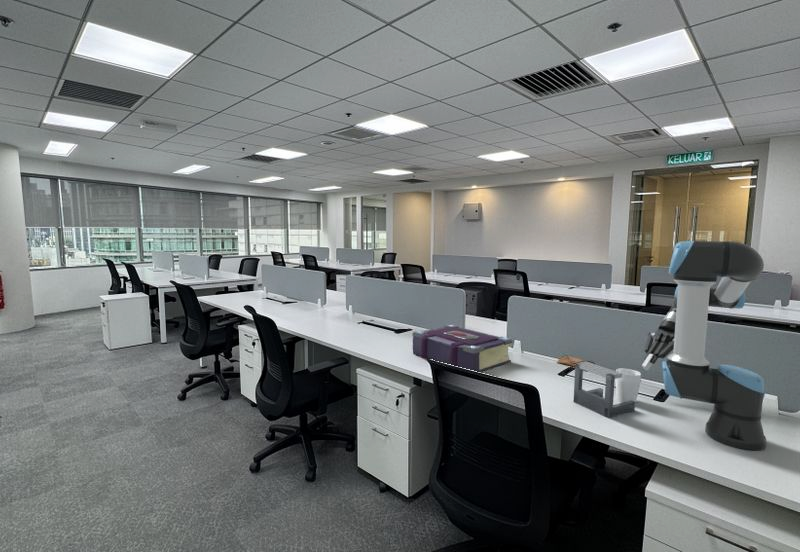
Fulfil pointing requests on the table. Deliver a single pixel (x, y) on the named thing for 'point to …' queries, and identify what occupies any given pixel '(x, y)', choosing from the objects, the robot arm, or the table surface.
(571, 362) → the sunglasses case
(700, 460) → the table surface
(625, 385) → the cup
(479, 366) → the book
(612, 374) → the grey plastic frame
